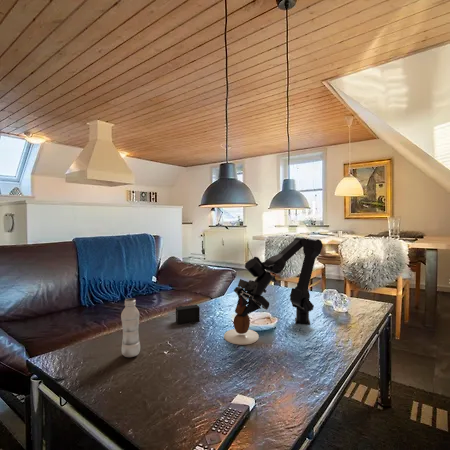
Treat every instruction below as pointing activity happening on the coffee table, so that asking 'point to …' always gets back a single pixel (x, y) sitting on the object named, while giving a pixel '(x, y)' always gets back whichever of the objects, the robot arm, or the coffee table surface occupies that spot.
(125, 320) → the plastic bottle
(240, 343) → the ceramic plate
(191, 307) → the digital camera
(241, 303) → the wooden figurine
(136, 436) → the coffee table surface
